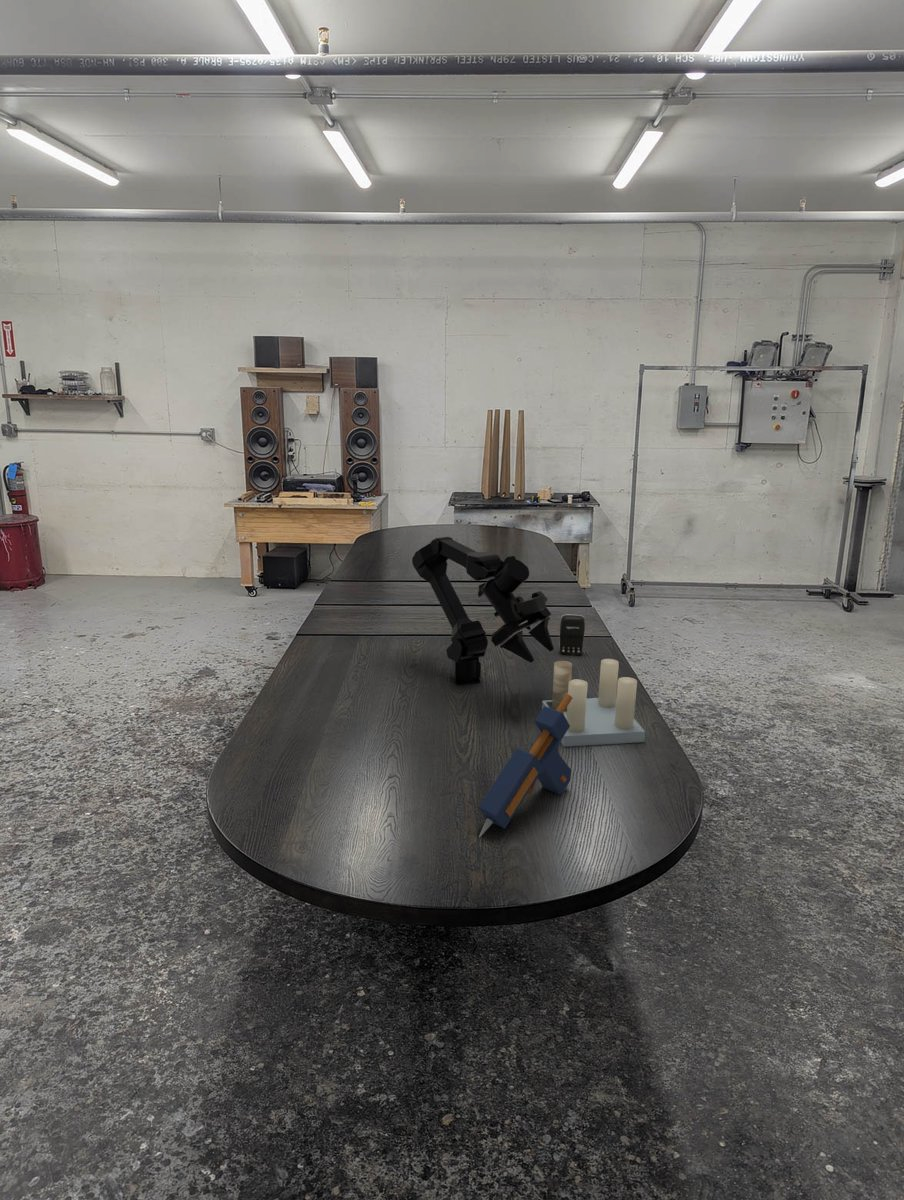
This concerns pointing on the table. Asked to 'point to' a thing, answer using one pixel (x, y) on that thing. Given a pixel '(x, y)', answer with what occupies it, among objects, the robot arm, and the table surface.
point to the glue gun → (530, 769)
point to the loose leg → (561, 682)
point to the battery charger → (571, 634)
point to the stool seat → (602, 710)
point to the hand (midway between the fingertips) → (542, 655)
